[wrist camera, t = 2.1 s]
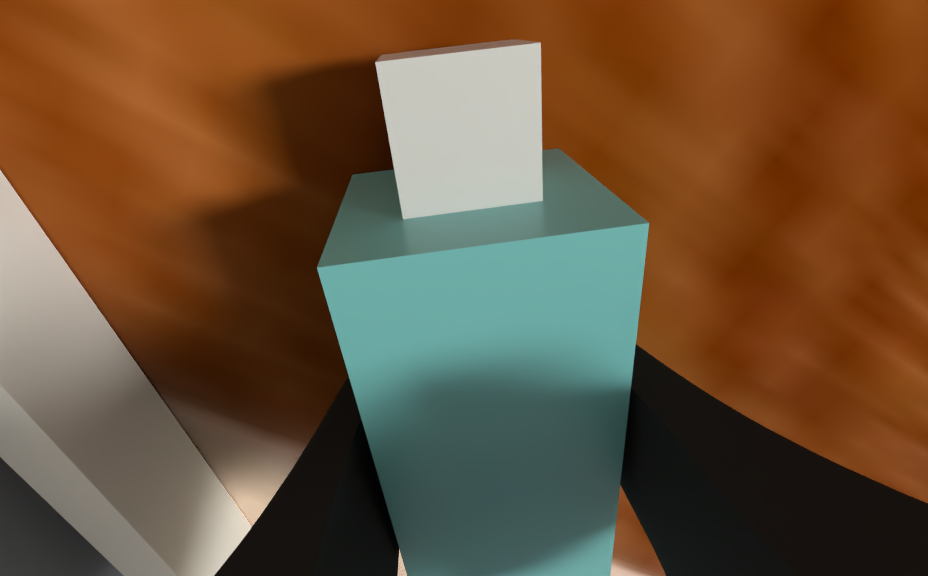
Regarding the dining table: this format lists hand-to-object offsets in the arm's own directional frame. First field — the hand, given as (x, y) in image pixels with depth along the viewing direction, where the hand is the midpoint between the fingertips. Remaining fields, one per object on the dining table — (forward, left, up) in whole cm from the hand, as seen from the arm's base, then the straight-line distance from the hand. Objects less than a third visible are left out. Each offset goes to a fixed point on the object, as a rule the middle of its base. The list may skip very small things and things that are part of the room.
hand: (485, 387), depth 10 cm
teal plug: (0, 0, -2) cm, 2 cm away
